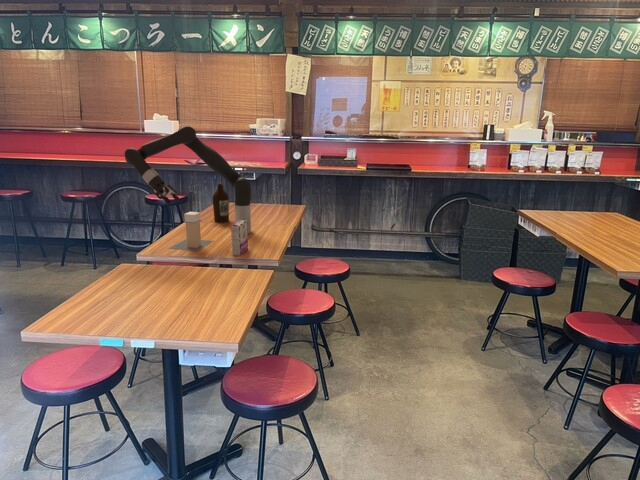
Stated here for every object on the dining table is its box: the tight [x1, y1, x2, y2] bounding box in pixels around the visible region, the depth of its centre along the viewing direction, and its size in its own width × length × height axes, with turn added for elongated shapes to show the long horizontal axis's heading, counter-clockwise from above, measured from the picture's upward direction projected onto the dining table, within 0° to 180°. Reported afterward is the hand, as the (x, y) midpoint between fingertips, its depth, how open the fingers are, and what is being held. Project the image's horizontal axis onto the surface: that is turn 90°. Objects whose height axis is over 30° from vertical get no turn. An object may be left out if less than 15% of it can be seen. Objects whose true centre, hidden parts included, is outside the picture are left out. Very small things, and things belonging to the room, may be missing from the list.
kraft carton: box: [185, 222, 202, 248], centre depth 262 cm, size 5×5×13 cm
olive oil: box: [211, 182, 230, 223], centre depth 319 cm, size 11×11×25 cm
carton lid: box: [184, 211, 202, 224], centre depth 259 cm, size 6×6×5 cm
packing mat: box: [167, 238, 215, 252], centre depth 266 cm, size 20×17×1 cm
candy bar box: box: [230, 220, 249, 256], centre depth 254 cm, size 11×5×16 cm, turn 168°
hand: (174, 201), depth 259 cm, fingers open, 8 cm apart
